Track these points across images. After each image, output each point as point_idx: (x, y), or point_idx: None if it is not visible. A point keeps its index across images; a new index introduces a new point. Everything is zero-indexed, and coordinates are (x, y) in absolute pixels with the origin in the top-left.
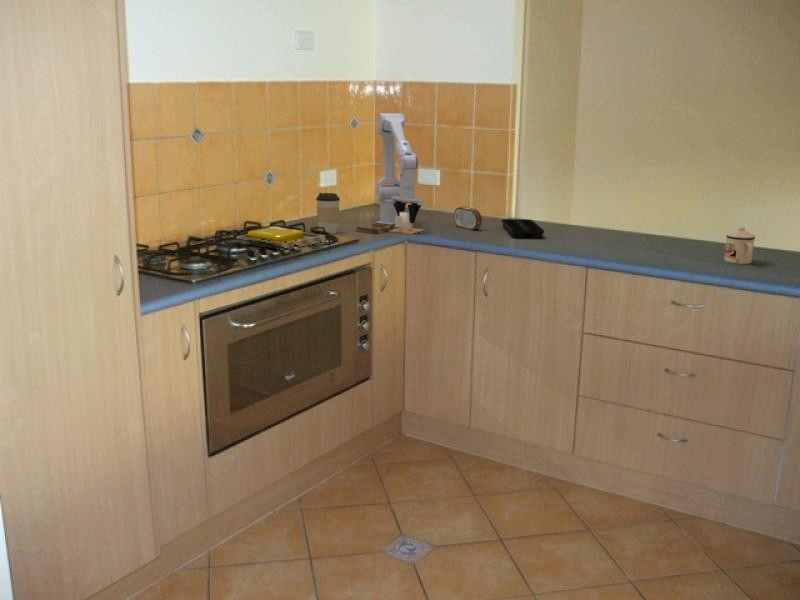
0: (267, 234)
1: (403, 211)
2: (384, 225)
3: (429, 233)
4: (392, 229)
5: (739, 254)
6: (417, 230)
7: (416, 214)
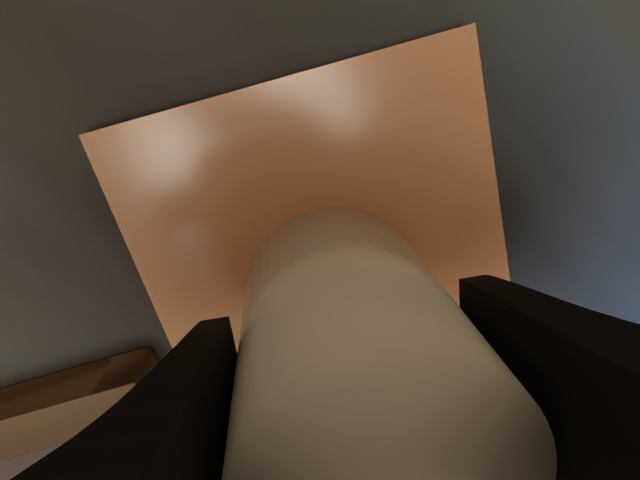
0: None
1: (236, 475)
2: (41, 447)
3: (613, 96)
4: (152, 360)
5: None
6: (443, 167)
7: (618, 332)
